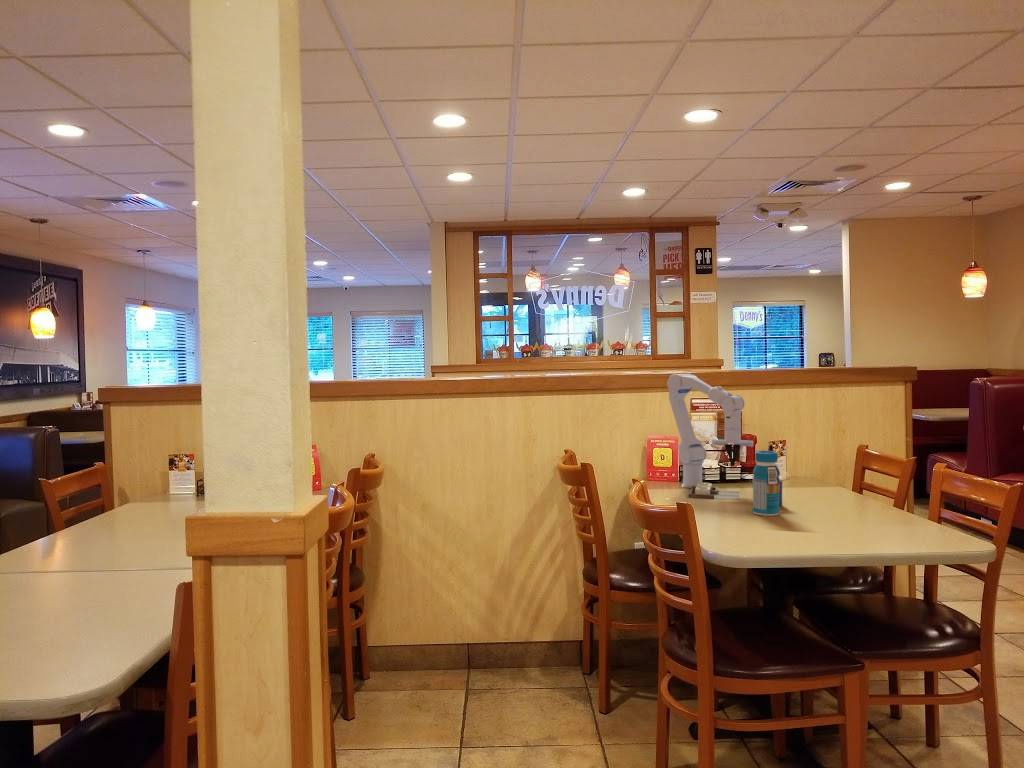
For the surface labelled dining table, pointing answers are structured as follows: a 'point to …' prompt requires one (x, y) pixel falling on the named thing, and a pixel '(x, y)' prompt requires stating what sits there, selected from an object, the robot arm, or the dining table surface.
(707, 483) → the twin pot
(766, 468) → the beverage bottle
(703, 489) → the pot
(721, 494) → the rack
